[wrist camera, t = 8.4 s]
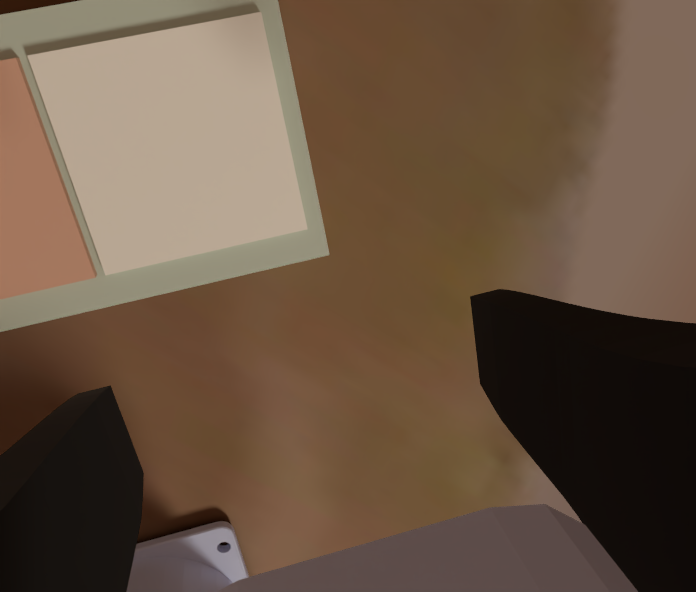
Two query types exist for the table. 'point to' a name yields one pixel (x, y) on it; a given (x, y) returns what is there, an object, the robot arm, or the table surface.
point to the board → (147, 153)
